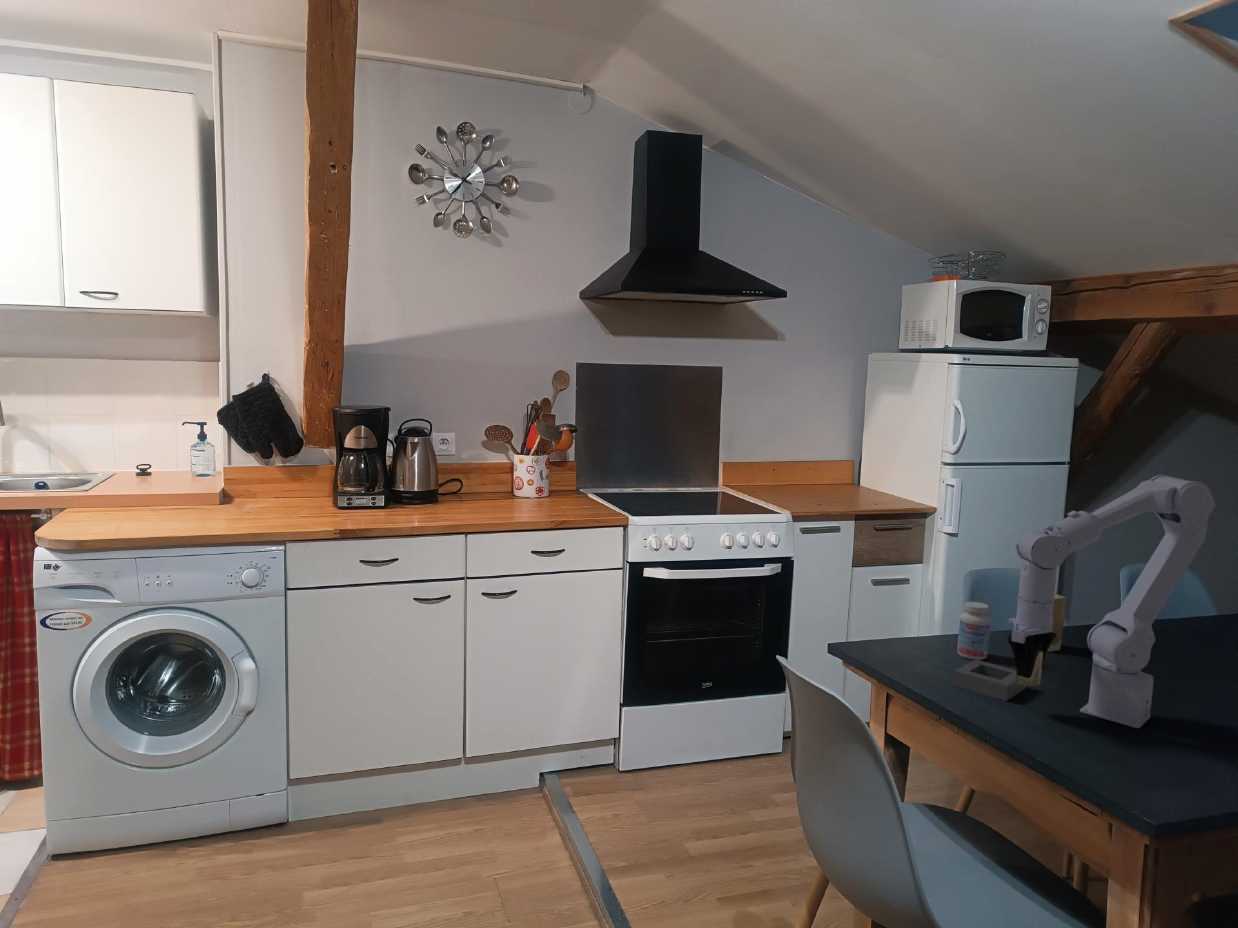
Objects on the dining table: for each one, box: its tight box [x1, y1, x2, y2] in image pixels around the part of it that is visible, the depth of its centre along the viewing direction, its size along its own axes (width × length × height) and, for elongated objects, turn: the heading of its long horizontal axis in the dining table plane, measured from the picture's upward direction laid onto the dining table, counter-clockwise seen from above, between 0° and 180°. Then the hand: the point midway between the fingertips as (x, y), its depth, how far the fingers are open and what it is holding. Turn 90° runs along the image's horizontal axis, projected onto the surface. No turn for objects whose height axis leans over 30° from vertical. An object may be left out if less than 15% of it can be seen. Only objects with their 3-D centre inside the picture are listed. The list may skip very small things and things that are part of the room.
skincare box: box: [1047, 593, 1068, 653], centre depth 193 cm, size 6×4×12 cm
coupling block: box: [952, 659, 1027, 702], centre depth 167 cm, size 10×10×3 cm
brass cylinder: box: [1015, 649, 1043, 687], centre depth 155 cm, size 4×4×6 cm
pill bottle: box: [956, 601, 992, 661], centre depth 185 cm, size 6×6×11 cm
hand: (1028, 673), depth 155 cm, fingers closed on brass cylinder, 4 cm apart
